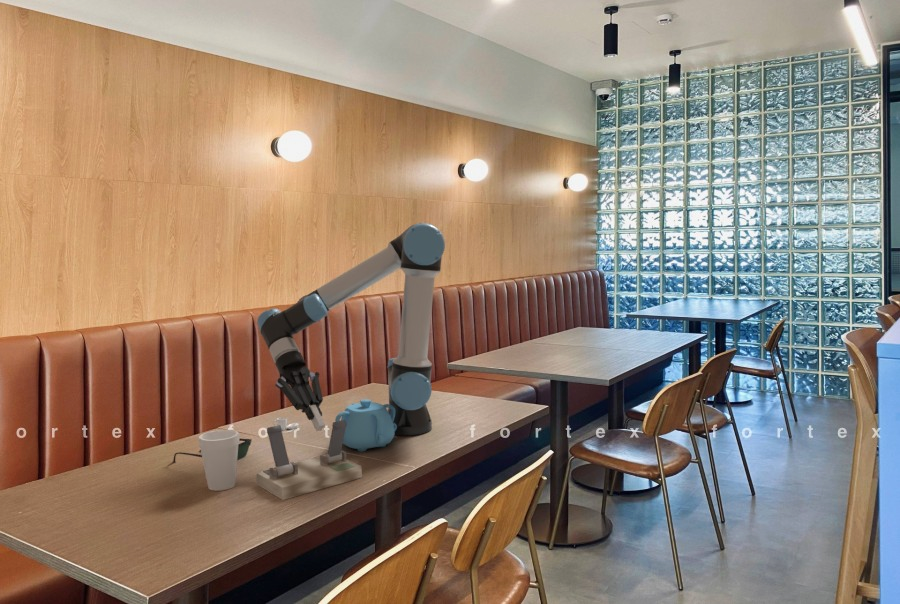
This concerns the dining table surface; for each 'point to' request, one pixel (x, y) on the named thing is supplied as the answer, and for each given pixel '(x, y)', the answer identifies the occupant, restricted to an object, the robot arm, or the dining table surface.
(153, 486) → the dining table surface
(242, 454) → the sunglasses
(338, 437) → the lever
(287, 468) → the lever
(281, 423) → the teacup and saucer
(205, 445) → the foam cup
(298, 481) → the switch base
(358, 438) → the decorative pot
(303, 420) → the dining table surface
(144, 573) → the dining table surface
